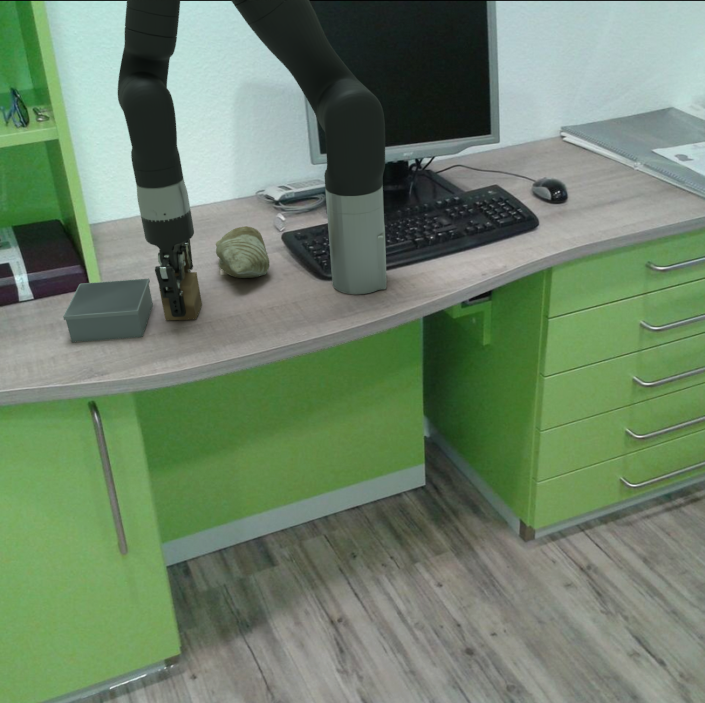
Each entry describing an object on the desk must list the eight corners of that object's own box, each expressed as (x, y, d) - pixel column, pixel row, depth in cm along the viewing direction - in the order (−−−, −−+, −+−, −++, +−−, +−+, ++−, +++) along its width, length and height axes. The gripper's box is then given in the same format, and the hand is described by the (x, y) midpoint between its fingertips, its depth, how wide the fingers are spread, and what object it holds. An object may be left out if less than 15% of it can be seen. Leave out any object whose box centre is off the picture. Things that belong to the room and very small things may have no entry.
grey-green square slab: (154, 305, 139) (149, 278, 137) (143, 339, 130) (137, 310, 127) (86, 310, 139) (79, 283, 136) (70, 344, 129) (63, 316, 127)
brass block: (202, 304, 137) (196, 272, 134) (196, 319, 133) (190, 285, 130) (172, 305, 138) (166, 273, 135) (165, 320, 133) (158, 286, 130)
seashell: (198, 235, 150) (229, 201, 144) (241, 251, 155) (272, 219, 150) (206, 297, 142) (239, 263, 136) (251, 311, 148) (284, 280, 142)
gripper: (179, 226, 120) (197, 328, 129) (198, 191, 132) (213, 287, 141) (128, 228, 120) (149, 330, 129) (152, 193, 133) (170, 288, 141)
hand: (183, 307), depth 135 cm, fingers closed on brass block, 5 cm apart
